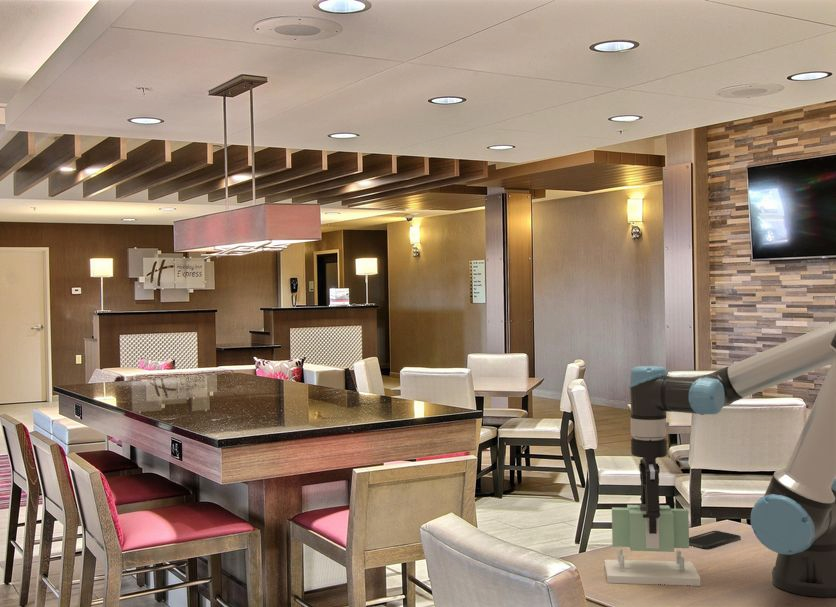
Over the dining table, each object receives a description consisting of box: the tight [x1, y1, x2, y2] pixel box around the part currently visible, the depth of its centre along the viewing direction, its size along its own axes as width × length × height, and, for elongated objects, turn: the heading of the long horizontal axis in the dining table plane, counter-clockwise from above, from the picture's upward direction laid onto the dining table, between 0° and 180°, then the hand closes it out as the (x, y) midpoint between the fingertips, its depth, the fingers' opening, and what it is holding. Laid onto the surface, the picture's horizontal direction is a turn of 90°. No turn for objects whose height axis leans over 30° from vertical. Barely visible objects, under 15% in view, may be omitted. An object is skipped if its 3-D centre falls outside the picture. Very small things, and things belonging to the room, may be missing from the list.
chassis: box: [604, 548, 702, 587], centre depth 192 cm, size 19×12×5 cm, turn 81°
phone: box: [689, 530, 742, 550], centre depth 218 cm, size 8×1×15 cm
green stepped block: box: [611, 503, 690, 553], centre depth 192 cm, size 16×8×9 cm, turn 81°
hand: (650, 542), depth 192 cm, fingers closed on green stepped block, 8 cm apart
